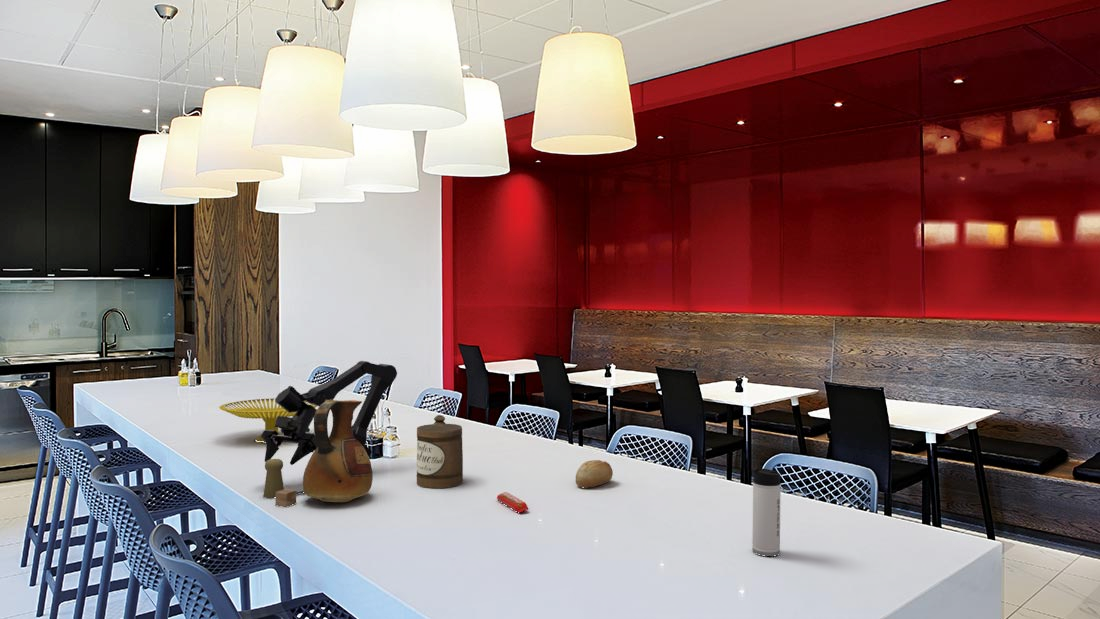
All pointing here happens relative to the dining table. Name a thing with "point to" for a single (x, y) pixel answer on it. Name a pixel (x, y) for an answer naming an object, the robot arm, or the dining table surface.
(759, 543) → the travel mug
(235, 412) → the cake stand
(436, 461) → the wooden container
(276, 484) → the cork
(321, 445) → the ceramic pitcher
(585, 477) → the bread roll
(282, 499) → the walnut block
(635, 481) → the dining table surface
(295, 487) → the coaster
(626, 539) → the dining table surface
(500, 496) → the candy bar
